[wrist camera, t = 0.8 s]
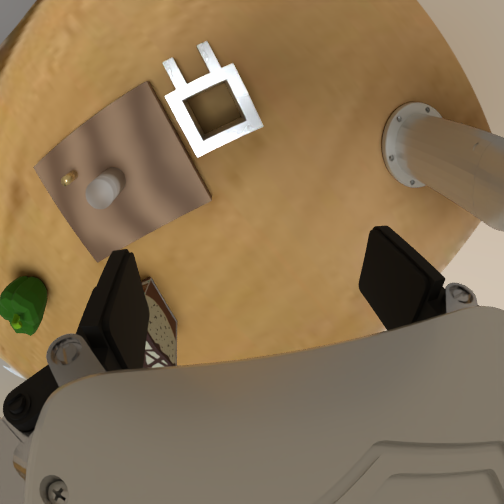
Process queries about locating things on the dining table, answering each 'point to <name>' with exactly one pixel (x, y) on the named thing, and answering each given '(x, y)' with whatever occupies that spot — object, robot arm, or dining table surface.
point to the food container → (159, 330)
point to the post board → (140, 162)
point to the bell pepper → (24, 304)
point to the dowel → (69, 178)
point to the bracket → (215, 77)
